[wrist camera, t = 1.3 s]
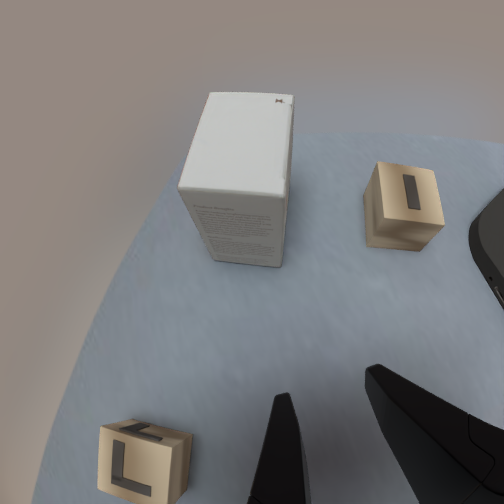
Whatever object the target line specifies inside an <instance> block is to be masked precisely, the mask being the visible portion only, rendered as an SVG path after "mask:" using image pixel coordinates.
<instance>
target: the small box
mask: <svg viewBox="0 0 504 504" xmlns="http://www.w3.org/2000/svg"><path fill="white" fill-rule="evenodd" d="M294 99H295V97H294V96H293V95H286V94H273V93H272V94H271V93H250V92H211V93H209V95H208V98H207V101H206V103H205V106H204V109H203V111H202V114H201V117H200V120H199V123H198V126H197V128H196V131H195V134H194V137H193V140H192V143H191V146H190V149H189V152H188V155H187V158H186V161H185V164H184V167H183V170H182V173H181V177H180V180H179V183H178V186H177V189H178V191H179V193H180V195H181V197H182V199H183V201H184V203H185V205H186V207H187V209H188V211H189V213H190V215H191V217H192V219H193V221H194V223H195V225H196V227H197V229H198V231H199V233H200V235H201V237H202V239H203V241H204V243H205V245H206V247H207V248H208V250H209V252H210V254H211V256H212V258H213V260H217V261H225V262H234V263H242V264H251V265H260V266H270V267H281V265H282V256H283V247H284V237H285V227H286V217H287V207H288V197H289V187H290V175H291V160H292V143H293V121H294V120H293V119H294Z"/></svg>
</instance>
